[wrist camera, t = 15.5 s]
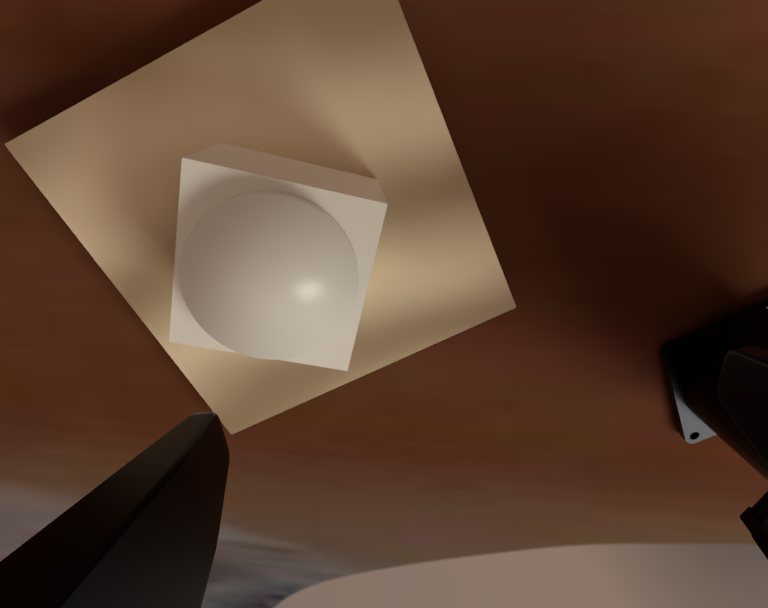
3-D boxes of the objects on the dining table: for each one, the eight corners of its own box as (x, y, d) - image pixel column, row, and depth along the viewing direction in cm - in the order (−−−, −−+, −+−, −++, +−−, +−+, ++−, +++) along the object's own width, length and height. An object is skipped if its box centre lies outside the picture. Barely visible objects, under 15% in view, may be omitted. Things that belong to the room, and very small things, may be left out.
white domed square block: (222, 143, 16) (174, 160, 12) (377, 179, 17) (389, 208, 13) (208, 288, 18) (161, 351, 14) (346, 313, 19) (347, 381, 15)
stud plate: (508, 298, 21) (543, 340, 17) (236, 420, 22) (214, 483, 19) (372, -53, 15) (380, -100, 12) (23, 141, 17) (-68, 153, 13)
